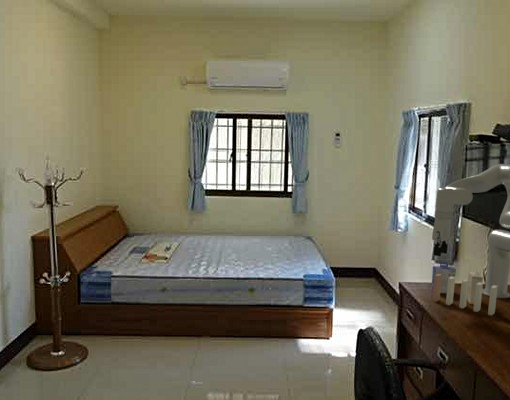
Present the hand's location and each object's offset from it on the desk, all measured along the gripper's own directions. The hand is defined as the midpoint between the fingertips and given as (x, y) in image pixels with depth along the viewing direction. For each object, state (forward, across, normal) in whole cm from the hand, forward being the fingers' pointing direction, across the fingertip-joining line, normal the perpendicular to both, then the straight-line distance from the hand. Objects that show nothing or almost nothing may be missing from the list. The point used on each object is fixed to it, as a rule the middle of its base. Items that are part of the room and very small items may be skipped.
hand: (440, 254), depth 235 cm
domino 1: (+22, 0, 0) cm, 22 cm away
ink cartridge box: (+22, -16, -3) cm, 27 cm away
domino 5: (+22, 0, +24) cm, 32 cm away
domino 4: (+22, 0, +18) cm, 28 cm away
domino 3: (+22, 0, +12) cm, 25 cm away
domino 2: (+22, 0, +6) cm, 23 cm away
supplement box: (+22, -11, +13) cm, 28 cm away
